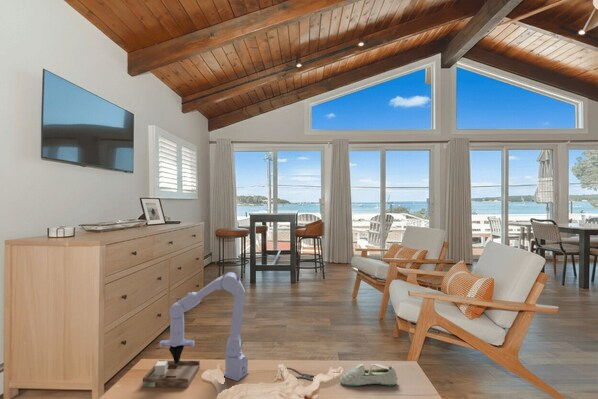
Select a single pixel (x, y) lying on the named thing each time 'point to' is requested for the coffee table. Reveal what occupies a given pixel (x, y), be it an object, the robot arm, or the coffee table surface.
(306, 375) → the pliers
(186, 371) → the wooden tray
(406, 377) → the coffee table surface
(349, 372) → the ballet flat
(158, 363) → the cream block
